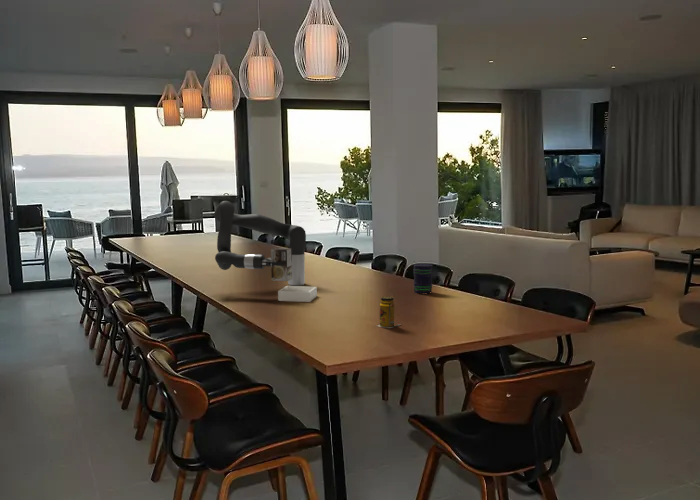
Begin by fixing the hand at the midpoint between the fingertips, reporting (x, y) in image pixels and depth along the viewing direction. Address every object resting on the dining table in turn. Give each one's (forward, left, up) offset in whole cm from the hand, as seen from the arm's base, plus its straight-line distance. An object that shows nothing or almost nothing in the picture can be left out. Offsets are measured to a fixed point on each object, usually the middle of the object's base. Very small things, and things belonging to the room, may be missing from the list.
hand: (285, 262), depth 332 cm
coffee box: (0, -2, -9) cm, 9 cm away
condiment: (+54, +58, -18) cm, 81 cm away
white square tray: (+2, +7, -18) cm, 19 cm away
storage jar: (-26, +68, -18) cm, 75 cm away
